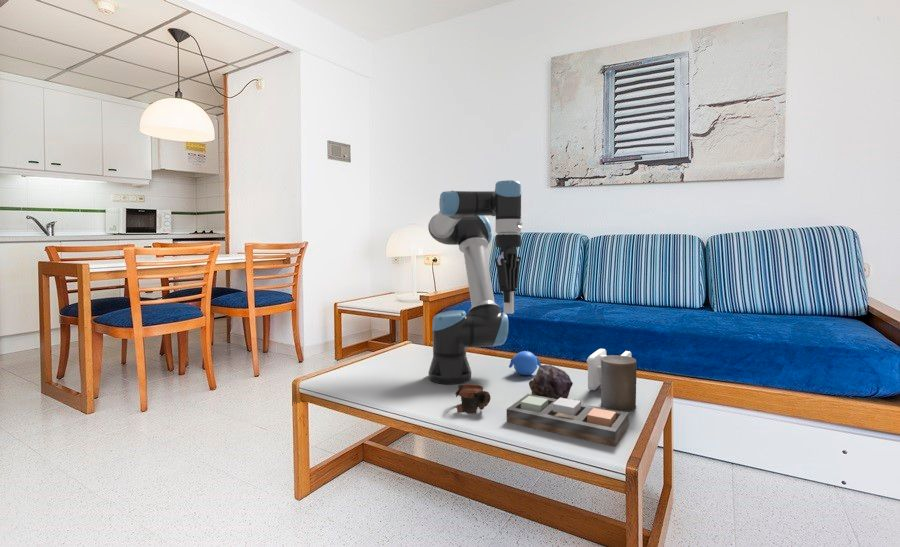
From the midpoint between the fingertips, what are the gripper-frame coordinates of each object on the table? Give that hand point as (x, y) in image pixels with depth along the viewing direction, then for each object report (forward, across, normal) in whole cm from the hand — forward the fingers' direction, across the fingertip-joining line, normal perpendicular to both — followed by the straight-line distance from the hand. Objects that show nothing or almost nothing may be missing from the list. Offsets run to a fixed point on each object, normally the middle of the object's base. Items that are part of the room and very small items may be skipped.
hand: (508, 313), depth 138 cm
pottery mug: (+27, -12, +5) cm, 30 cm away
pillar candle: (+27, +11, -29) cm, 41 cm away
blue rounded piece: (+27, +27, +7) cm, 39 cm away
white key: (+23, -9, -21) cm, 32 cm away
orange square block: (+24, -9, -30) cm, 39 cm away
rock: (+27, +9, -10) cm, 30 cm away
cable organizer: (+27, +26, -23) cm, 44 cm away
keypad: (+26, -9, -21) cm, 35 cm away
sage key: (+24, -9, -12) cm, 28 cm away
